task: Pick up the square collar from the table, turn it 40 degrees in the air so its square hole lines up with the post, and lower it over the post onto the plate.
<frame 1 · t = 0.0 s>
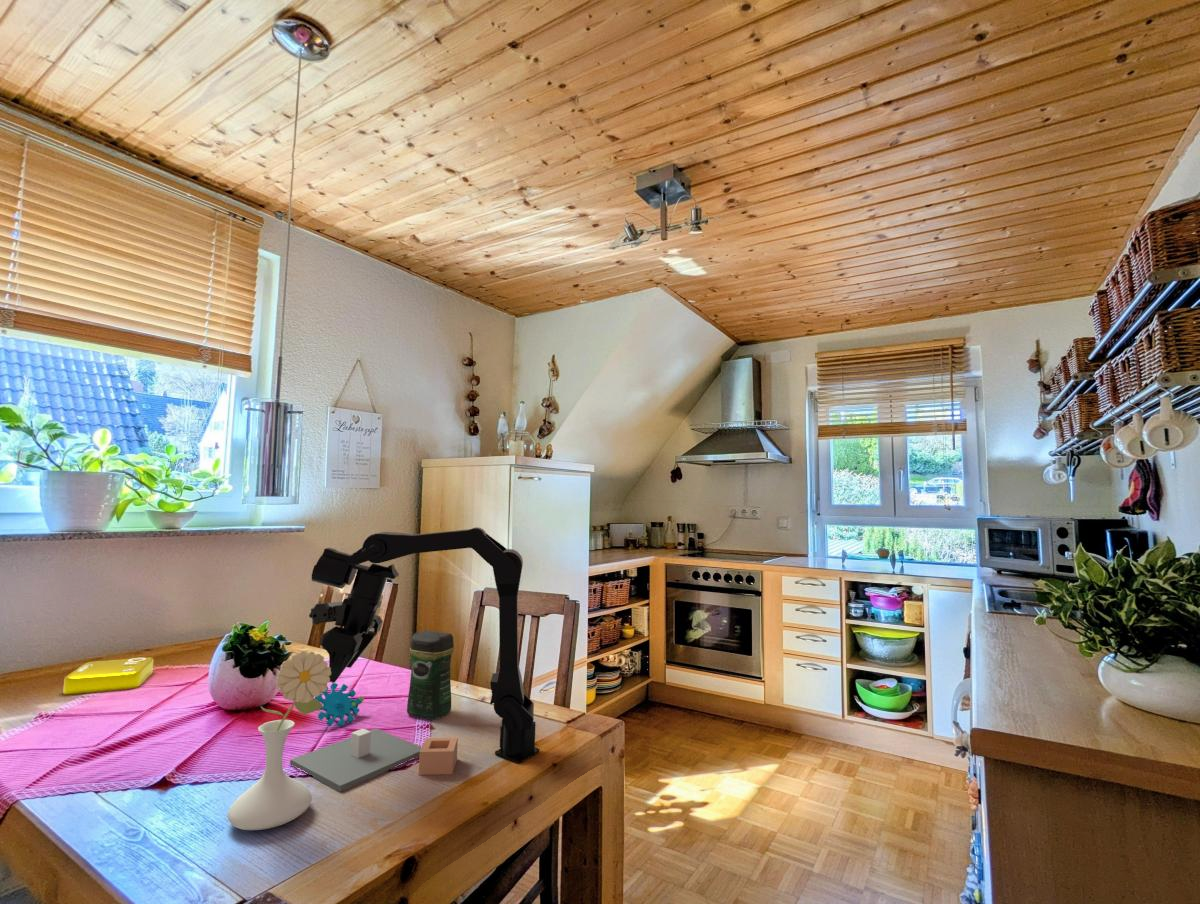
hand: (340, 674, 110), 15 cm above the table, tool pointing down, fingers open, 9 cm apart
post plate: (359, 759, 109), on the table
coffee jar: (428, 714, 132), on the table
flower in vase: (276, 817, 89), on the table
gear: (338, 722, 126), on the table
element tile: (110, 685, 147), on the table
collar: (438, 766, 107), on the table
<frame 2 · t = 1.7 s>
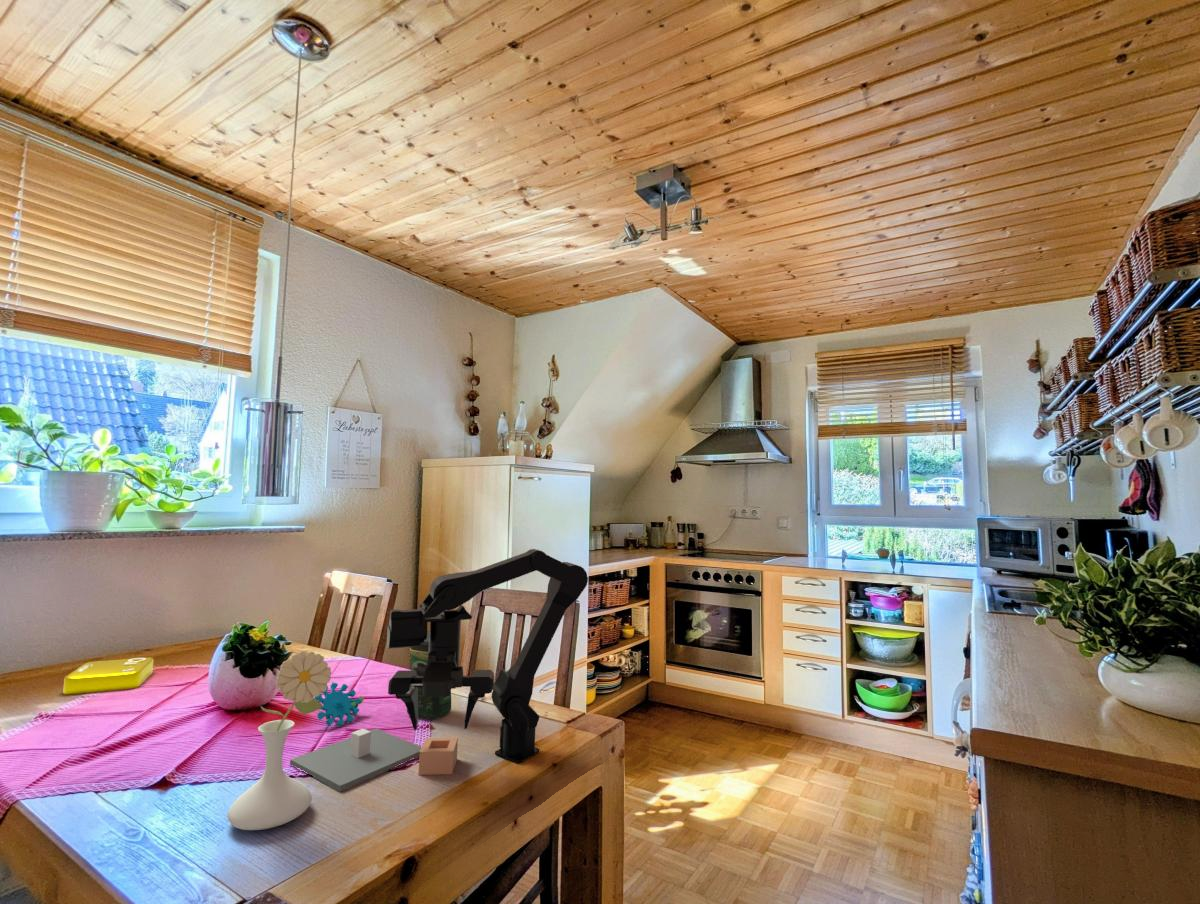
hand: (440, 728, 107), 7 cm above the table, tool pointing down, fingers open, 9 cm apart
nothing on the table moved.
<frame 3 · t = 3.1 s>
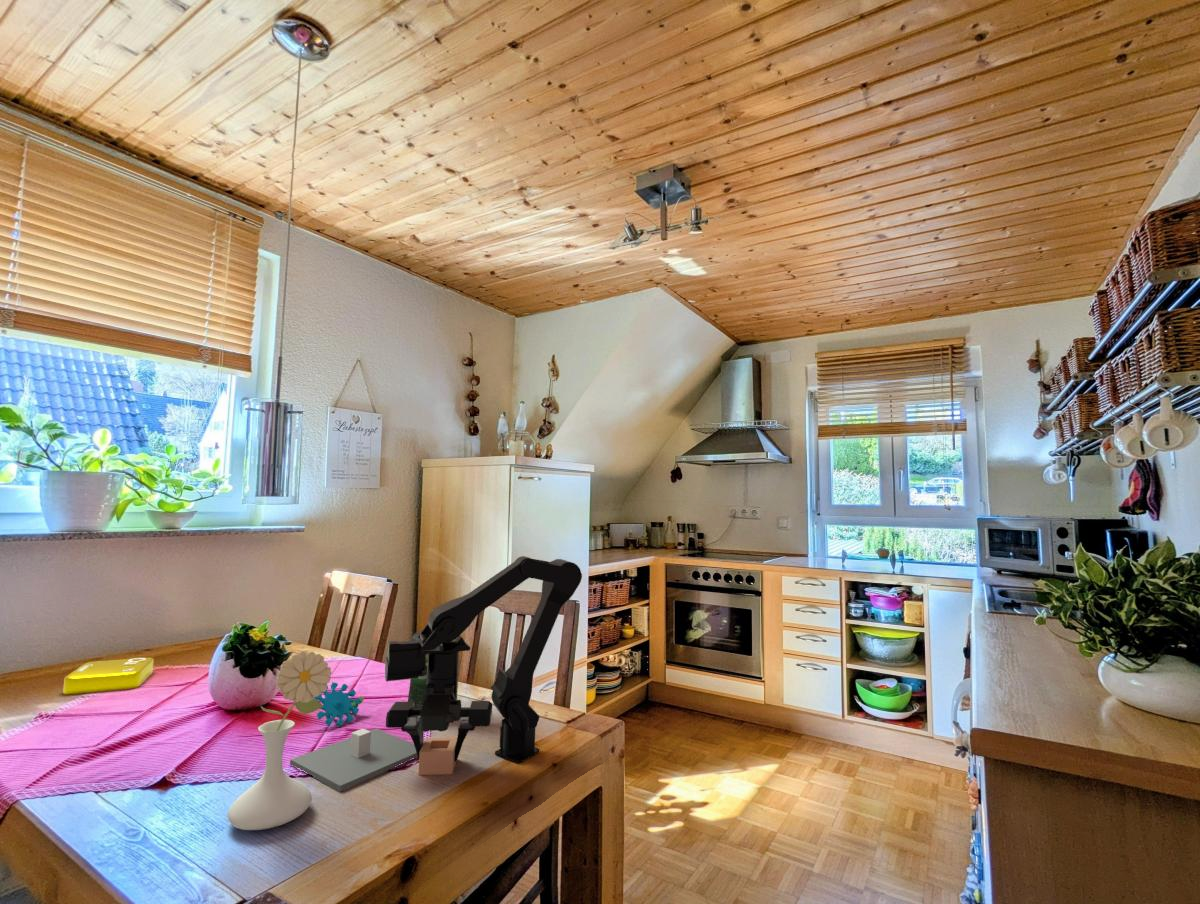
hand: (438, 761, 107), 1 cm above the table, tool pointing down, fingers closed on collar, 6 cm apart
collar: (438, 766, 107), on the table, touching gripper
everything else where it was.
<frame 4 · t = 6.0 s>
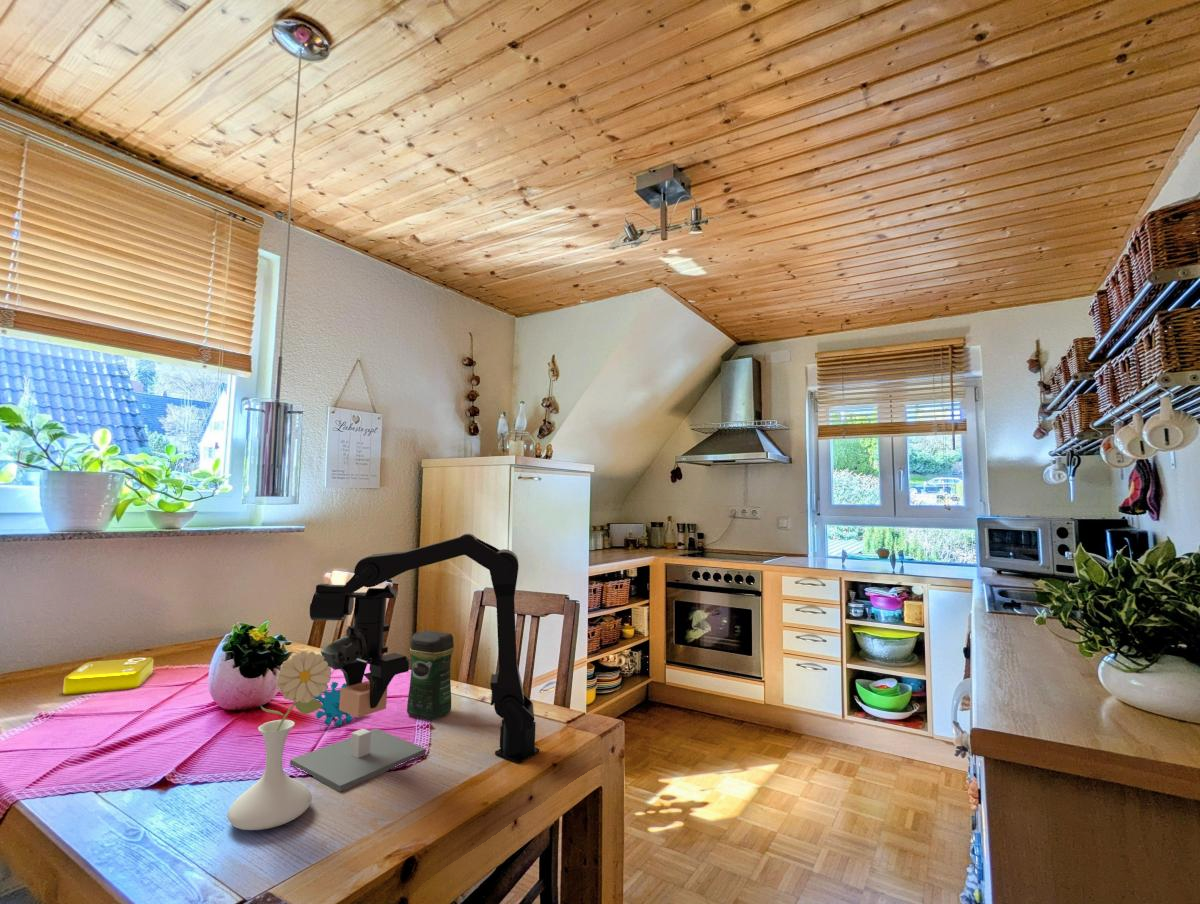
hand: (363, 703, 109), 10 cm above the table, tool pointing down, fingers closed on collar, 6 cm apart
collar: (362, 709, 109), point 9 cm above the table, touching gripper
everything else where it was.
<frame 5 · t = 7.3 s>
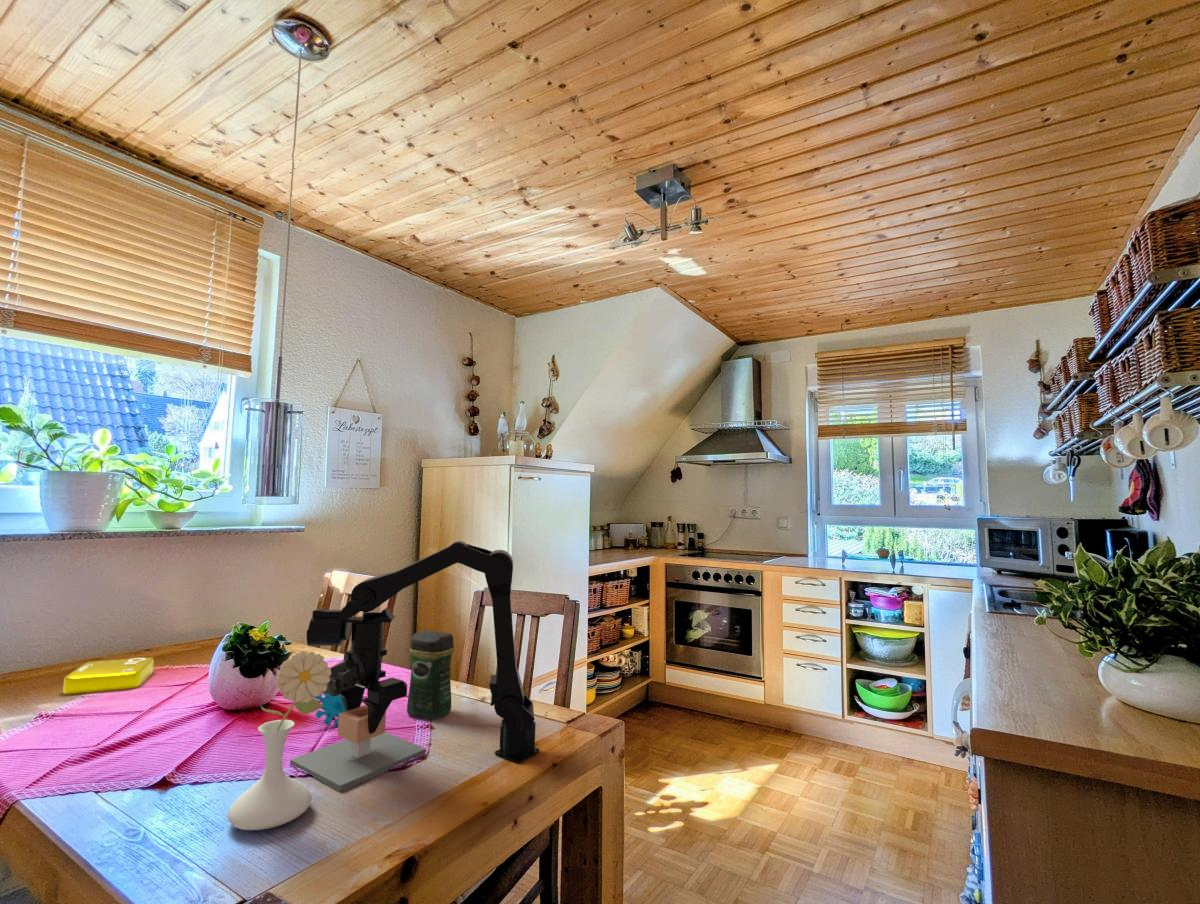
hand: (361, 728, 109), 6 cm above the table, tool pointing down, fingers closed on collar, 6 cm apart
collar: (361, 734, 109), point 5 cm above the table, touching gripper
everything else where it was.
when the fingers open (3 cm above the table, at t = 8.7 s): collar drops 1 cm, resting on post plate.
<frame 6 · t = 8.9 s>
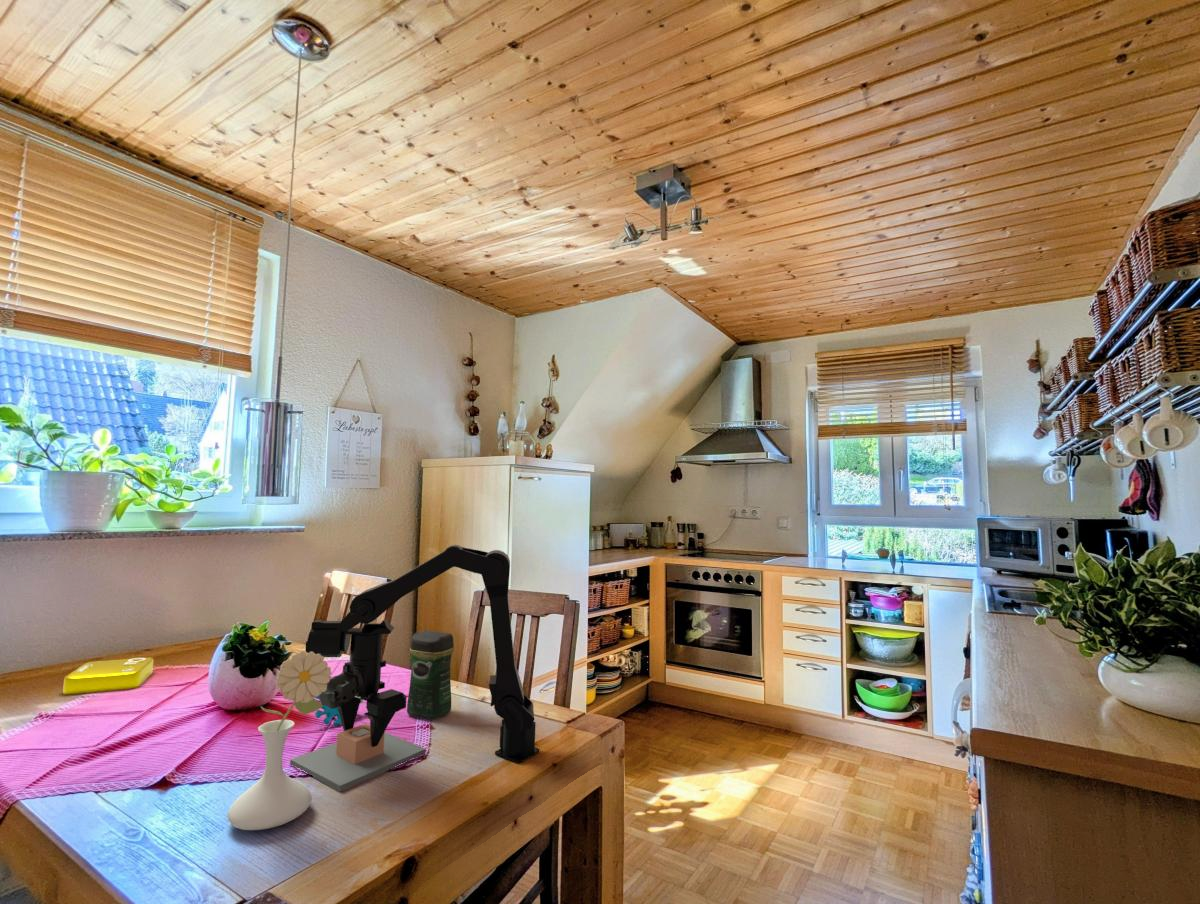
hand: (360, 740, 109), 3 cm above the table, tool pointing down, fingers open, 8 cm apart
collar: (359, 753, 109), point 1 cm above the table, touching post plate
everything else where it was.
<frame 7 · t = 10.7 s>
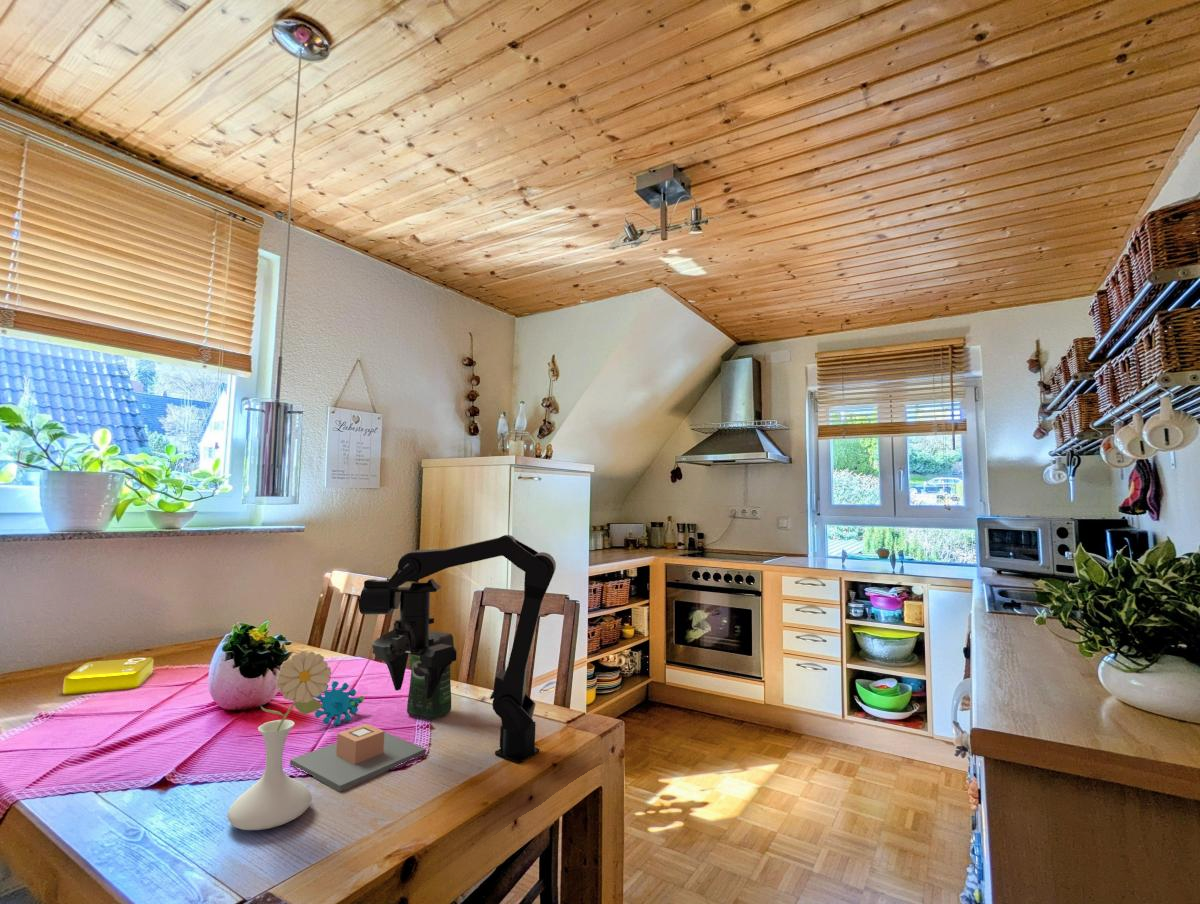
hand: (413, 694, 113), 11 cm above the table, tool pointing down, fingers open, 9 cm apart
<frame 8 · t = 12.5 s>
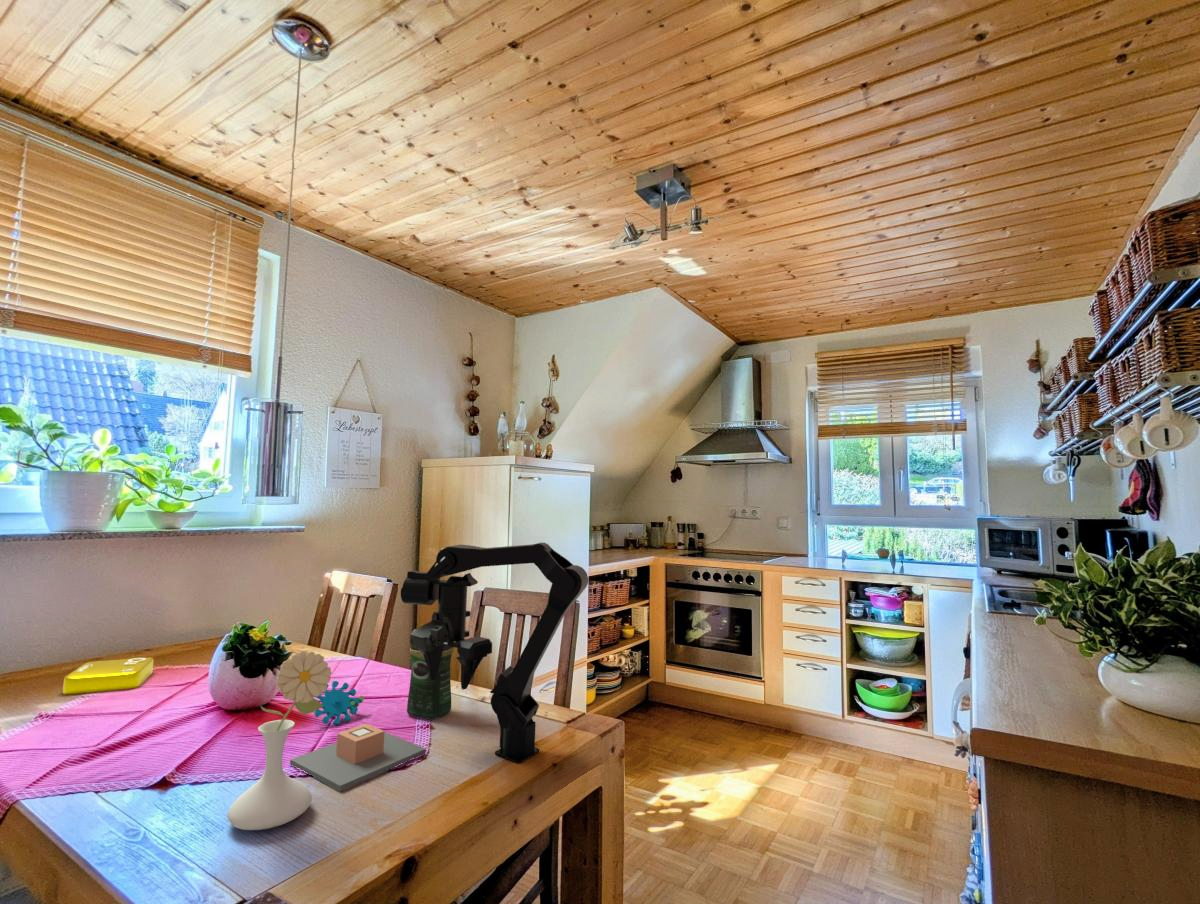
hand: (448, 684, 117), 12 cm above the table, tool pointing down, fingers open, 9 cm apart
at the end: collar 0.0 cm off-centre on the post plate, point 1.0 cm above the post plate's base; collar tilted 0°; the gripper is holding nothing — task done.
